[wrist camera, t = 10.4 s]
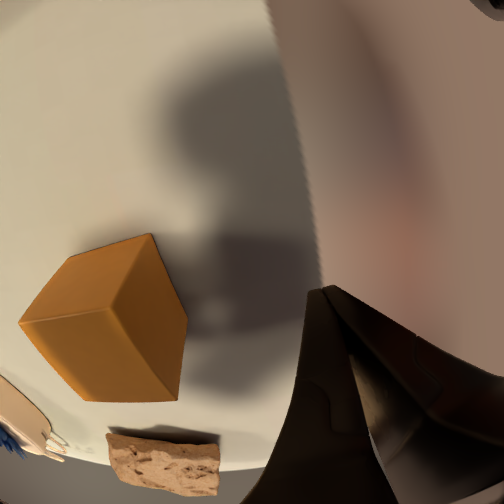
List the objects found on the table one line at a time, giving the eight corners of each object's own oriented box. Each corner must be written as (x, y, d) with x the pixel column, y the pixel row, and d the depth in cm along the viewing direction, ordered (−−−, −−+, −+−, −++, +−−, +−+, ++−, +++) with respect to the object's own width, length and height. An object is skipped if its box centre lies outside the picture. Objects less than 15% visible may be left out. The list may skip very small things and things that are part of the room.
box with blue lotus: (-74, 384, 8) (27, 471, 17) (-54, 395, 7) (91, 495, 16) (-54, 349, 14) (36, 438, 23) (-25, 342, 13) (99, 451, 22)
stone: (208, 463, 23) (209, 500, 18) (105, 437, 19) (98, 476, 15) (244, 438, 19) (249, 487, 15) (110, 405, 16) (98, 459, 12)
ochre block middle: (67, 257, 10) (16, 322, 6) (151, 232, 10) (111, 307, 6) (110, 331, 12) (84, 401, 8) (188, 318, 12) (178, 401, 8)
